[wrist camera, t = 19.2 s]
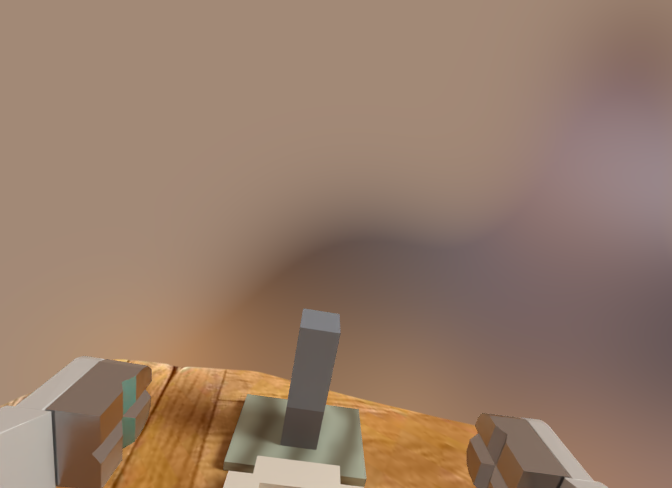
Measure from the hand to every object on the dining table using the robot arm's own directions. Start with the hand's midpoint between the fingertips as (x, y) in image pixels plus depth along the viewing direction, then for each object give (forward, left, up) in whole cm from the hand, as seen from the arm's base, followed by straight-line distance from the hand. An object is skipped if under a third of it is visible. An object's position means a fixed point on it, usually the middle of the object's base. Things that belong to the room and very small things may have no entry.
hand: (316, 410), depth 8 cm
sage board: (+2, +35, -38) cm, 52 cm away
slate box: (+2, +35, -37) cm, 51 cm away
